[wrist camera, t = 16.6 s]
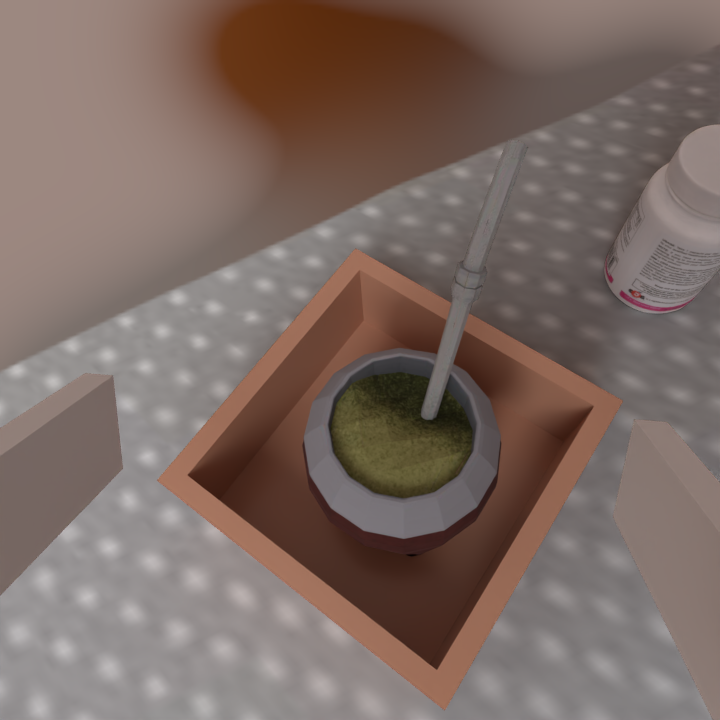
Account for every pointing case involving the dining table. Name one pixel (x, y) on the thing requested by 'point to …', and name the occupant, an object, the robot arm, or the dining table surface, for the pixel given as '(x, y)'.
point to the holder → (339, 550)
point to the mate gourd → (412, 422)
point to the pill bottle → (671, 231)
